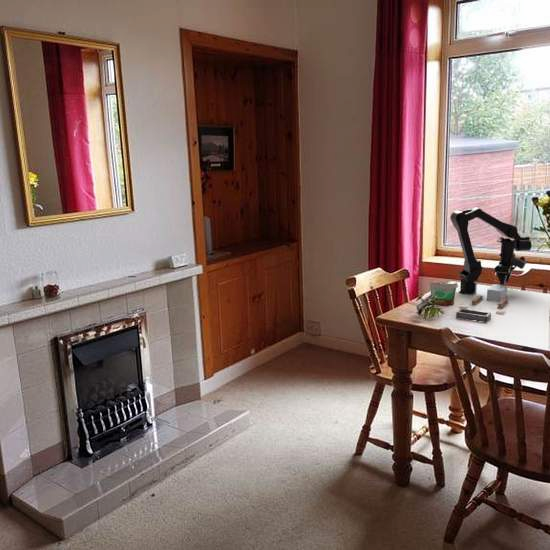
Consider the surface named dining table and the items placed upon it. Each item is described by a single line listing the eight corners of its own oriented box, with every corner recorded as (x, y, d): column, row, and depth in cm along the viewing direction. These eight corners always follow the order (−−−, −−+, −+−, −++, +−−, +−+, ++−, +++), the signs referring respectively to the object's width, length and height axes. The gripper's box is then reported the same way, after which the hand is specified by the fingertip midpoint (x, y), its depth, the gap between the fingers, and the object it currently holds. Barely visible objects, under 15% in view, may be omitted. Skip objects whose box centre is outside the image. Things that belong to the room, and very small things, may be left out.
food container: (426, 306, 243) (427, 283, 241) (427, 302, 248) (428, 280, 246) (456, 308, 239) (457, 285, 237) (456, 304, 245) (458, 282, 242)
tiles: (459, 308, 238) (459, 306, 238) (461, 306, 240) (461, 304, 240) (503, 314, 228) (503, 312, 228) (505, 312, 230) (505, 310, 230)
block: (486, 300, 251) (487, 289, 250) (493, 294, 261) (493, 284, 260) (500, 302, 248) (501, 291, 247) (506, 296, 257) (507, 285, 256)
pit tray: (456, 318, 225) (456, 312, 224) (460, 314, 230) (460, 308, 229) (486, 322, 218) (487, 316, 217) (490, 318, 223) (491, 312, 222)
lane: (471, 304, 243) (472, 300, 243) (478, 299, 252) (478, 294, 252) (501, 308, 236) (501, 304, 236) (507, 302, 245) (507, 298, 245)
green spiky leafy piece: (419, 327, 231) (417, 300, 236) (446, 325, 227) (444, 297, 232) (414, 318, 222) (412, 291, 227) (442, 316, 218) (440, 287, 222)
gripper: (521, 256, 250) (518, 289, 253) (529, 249, 265) (527, 281, 268) (495, 254, 256) (493, 287, 259) (505, 247, 271) (502, 279, 274)
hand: (504, 283), depth 265 cm, fingers open, 9 cm apart
